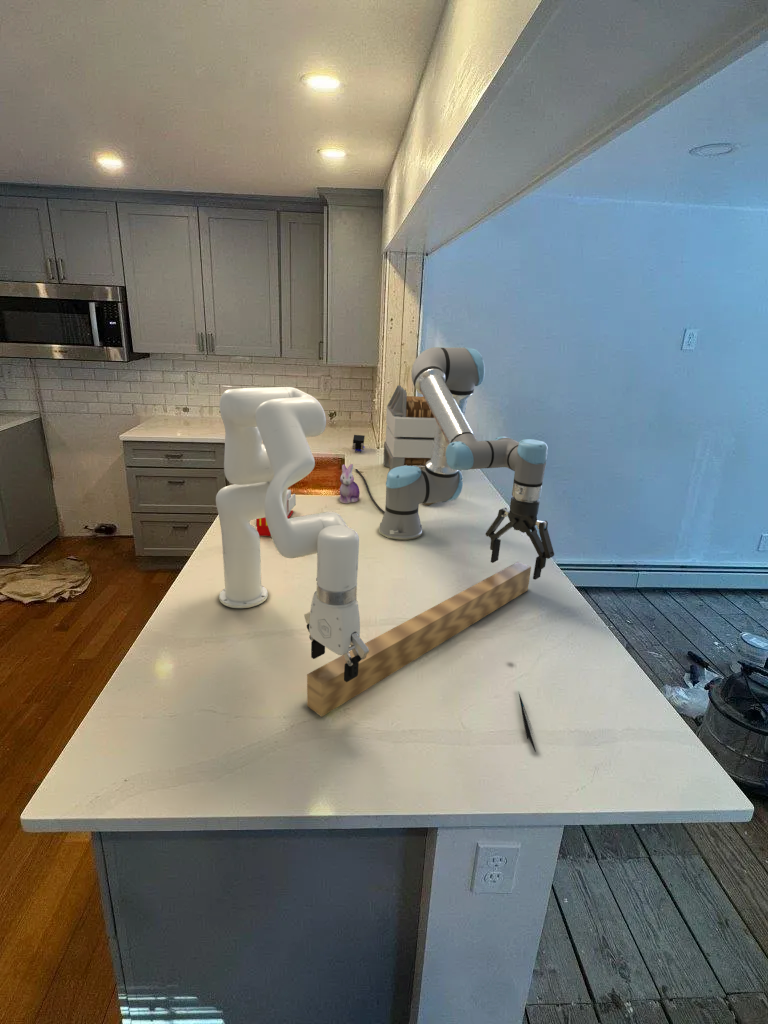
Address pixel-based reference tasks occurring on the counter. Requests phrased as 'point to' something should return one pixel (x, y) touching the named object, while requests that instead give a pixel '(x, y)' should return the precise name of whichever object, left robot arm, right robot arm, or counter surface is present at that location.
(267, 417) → the left robot arm
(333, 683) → the post
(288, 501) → the toy
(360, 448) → the figurine character
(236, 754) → the counter surface
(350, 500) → the figurine
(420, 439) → the white storage crate
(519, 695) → the feather
